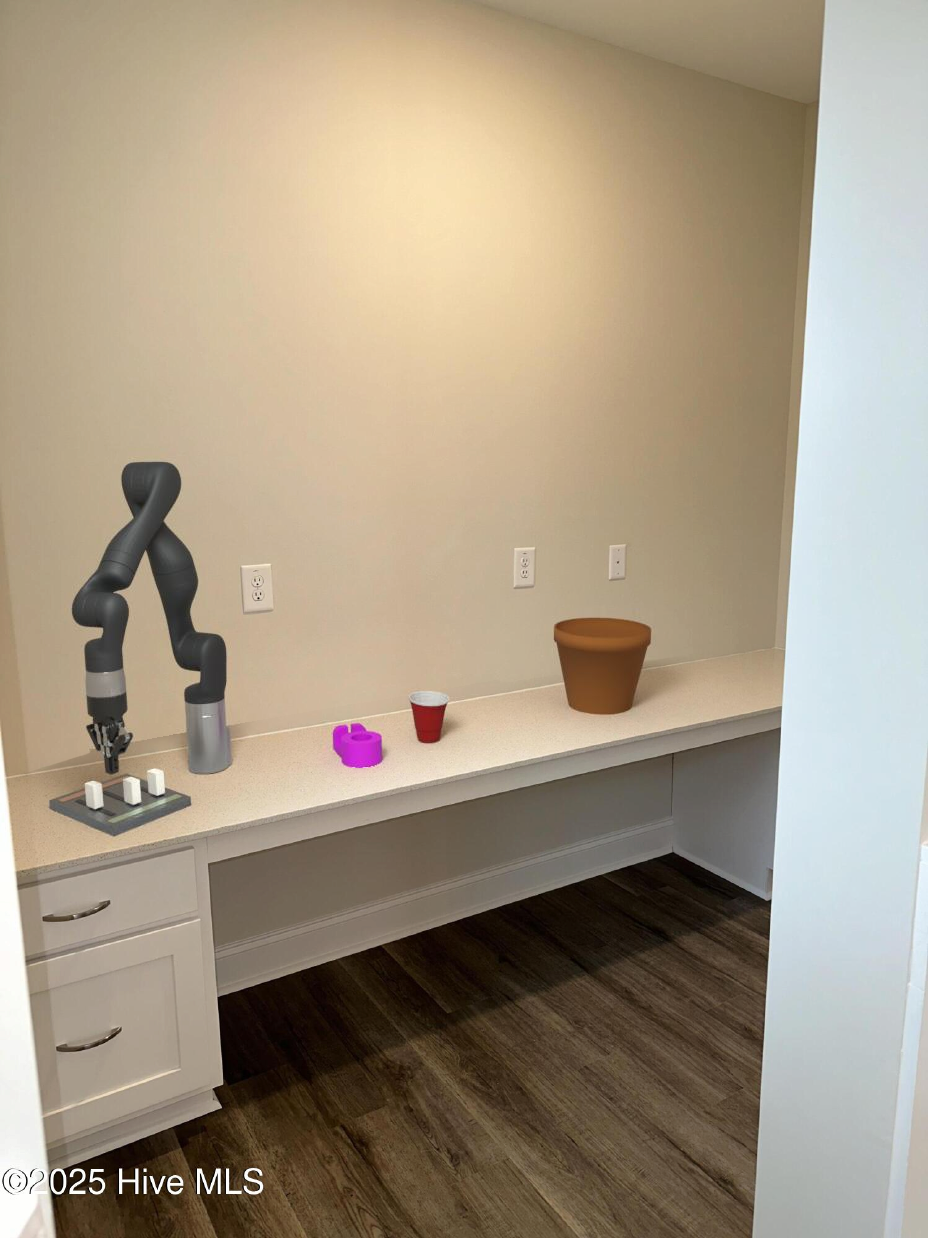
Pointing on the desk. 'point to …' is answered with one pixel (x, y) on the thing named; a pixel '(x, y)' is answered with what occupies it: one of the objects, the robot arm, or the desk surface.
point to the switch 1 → (94, 794)
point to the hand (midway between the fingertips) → (112, 772)
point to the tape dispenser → (357, 746)
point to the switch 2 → (155, 781)
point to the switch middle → (132, 790)
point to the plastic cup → (428, 714)
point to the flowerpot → (601, 662)
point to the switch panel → (119, 806)
